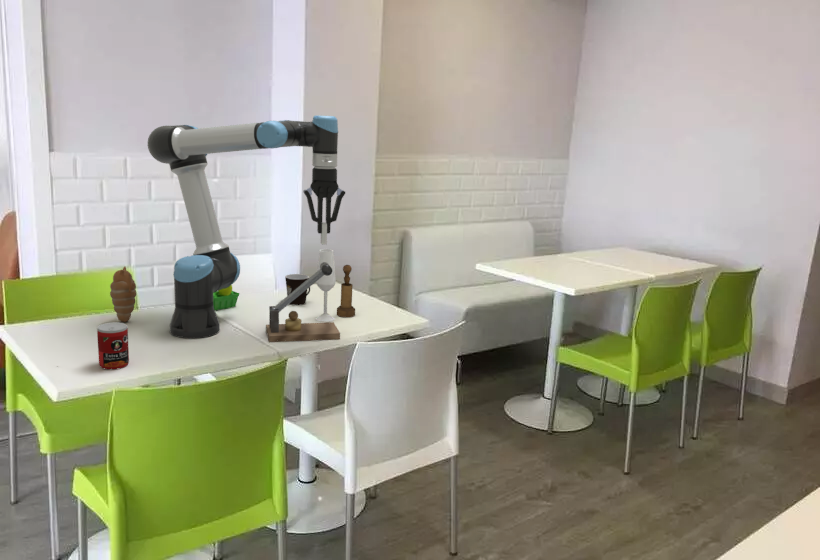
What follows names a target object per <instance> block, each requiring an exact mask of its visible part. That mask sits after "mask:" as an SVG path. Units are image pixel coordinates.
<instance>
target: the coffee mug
mask: <svg viewBox="0 0 820 560" xmlns="http://www.w3.org/2000/svg"><path fill="white" fill-rule="evenodd" d="M309 278H310V276H309V275H308V274H307V275H306V274H301V273H292V274H291V273H290V274H287V275H285V278H284V279H285V286H286V295H287V296H288V295H289V294H290V293H292V292H293V291H294V290H295V289H297V288H298V287H299V286H300V285H301V284H303V283H304V282H305V281H306V280H307V279H309ZM310 292H311V286H310V287H309V288H308V289H307V290H305V291H304V292H303V293H302V294H301V295H299V296H298V297H297V298H296V299H295V300H293V301H292V302H291V303H290V304H289V305H292V306H303V305H305V304H306V303H307V302H306V301H307V296H308V295H309V294H310ZM287 296H286V297H287Z"/></svg>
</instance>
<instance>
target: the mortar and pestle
mask: <svg viewBox="0 0 820 560" xmlns="http://www.w3.org/2000/svg"><path fill="white" fill-rule="evenodd" d="M352 270H353V269H352V266H351V265H349V264H344V265H343V267H342V271H343V273H344V276H343V282H342V283H341V287H340V290H341V291H340V305H339V306H337V308H336V316H338V317H341V318H353V317H355V316H356V308H355V307H354V306H353V283H350V281H351V277H350V273H351V272H352Z"/></svg>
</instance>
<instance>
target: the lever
mask: <svg viewBox="0 0 820 560" xmlns="http://www.w3.org/2000/svg"><path fill="white" fill-rule="evenodd" d="M331 273H332V268H331V267H330V266H329V264H328V263H326V262H323V263H321V265H320V270H318V271H316V272H315V273H314V274H312V275H311V276H309V279H307V280H306V281H305V282H304V283H303V284H301V285H300V286H299V287H298V288H297V289H295V290H294V291H293V292H292V293H290V294H289V295H288V296H285V297H284V299H282V300H280V302H278V303H277V304H275V305H274V306H275V307H271V308H270V313H271V310H279V313H280V312H281V311H282V310H284V309H285V308H286V307H287V306H289V305H290V303H291V302H292V301H293V300H295V299H296V298H297V297H298V296H299V295H301V294H302V293H303V292H304V291H305V290H307V291H308V290H309V287H310V288H311V287H312V286H313V285H314V284H315V283H316V281H318V280H319V279H320V278H321V277H322V276H324V275H326V276H329V275H331Z"/></svg>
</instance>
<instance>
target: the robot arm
mask: <svg viewBox="0 0 820 560" xmlns="http://www.w3.org/2000/svg"><path fill="white" fill-rule="evenodd" d="M338 125H339V123H338V118H337V117H336V116H334V115H314V116H313V117H312V121H302V120H301V121H299V120H287V119H284V120H268V121H263V122H254V123H253V122H252V123H251V122H250V123H243V124H233V125H232V124H231V125H222V126H220V125H219V126H210V127H203V128H202V127H201V128H198V127H196V126H194V125H189V124H188V125H187V124H182V125H181V124H180V125H162V126H159V127H156V128H154V130H152V131H151V132H150V134H149V136H148V139H147V149H148V152H149V153H150V155H151V157H152V158H153V159H155V160H156V161H157V162H159V163H162V164H167V165H169V169H170V171H171V173H173V174H175V175H176V176H177V180H178V183H179V186H180V190H181V194H182V199H183V203H184V206H185V211H186V213H187V218H188V220H189V225H190V229H191V232H192V236H193V239H194V244H195V250H194V252H193V253H192V254H193V255H190V256H189V255H187V256H183V257H181V258H179V259H177V260H176V261H175V262H174V267H173V283H174V286H173V287H174V311H173V314H172V317H171V319H170V323H169V333H170V334H171V335H172V336H174V337H177V338H183V339H200V338H208V337H210V336H211V337H212V336H214V335H216V334H218V333H219V332H220V330H221V329H220V321H219V318H218V316H217V313H216V311H215V310H214V305H213V293H214V292H216V291H219V290H221V289H224V288H227V287H229V286H230V285H232V286H233V284H234V283H235V282H236V281H237V280H238V278H239V276H240V274H241V264H240V262H239V261H240V260H239V259H238V257H237V256H236V255H235V254H234V253H233V252H231V250H230V247H229V245H228V244H227V243H225V242H224V241H223V238H222V234H221V231H220V226H219V223H218V219H217V215H216V212H215V207H214V204H213V203H214V202H213V200H212V199H213V198H212V196H211V191H210V188H209V183H208V180H207V176H206V173H205V169H206V167H207V166H208V161H207V156H208V154H220V153H231V152H242V151H243V152H244V151H250V150H251V151H252V150H263V149H265V150H266V149H267V150H268V149H278V148H288V147H289V148H290V147H306V148H307V147H308V148H312V160H311V161H312V164H311V165H312V166H313V168H312V173H311V184H310V187H308V188H307V189H304V190H303V192H302V193H304V195H305V197H306V200H307V204H308V205H307V206H308V209H309V213H310V217H311V220H312V221H313V222H316V223H317V227H316V228H317V230H316V231H317V233H318V234H320V244H321V245H326V246H327V243H328V241H327V240H328V234H331V224H332V223H333V222H337V219H338V215H339V211H340V209H341V204H342V201H343V200H342V199H343V198H344V196H345V195H346V191H345V190H344V189H342V188H340V187H339V184H338V169H337V166H338V144H339V143H338V142H339V140H338V138H339V126H338ZM313 193H314V194H315V197H316V199H317V208H316V209H317V213H316V212H315V211H316V210H315V206H314V202H313V198H312V195H313ZM335 193H336V195H337V196H336V199H335V203H334V206H333V210H332V197H334V195H335ZM324 199H325V222H323V212H324V211H323V209H324V207H323V206H324V203H323V201H324Z"/></svg>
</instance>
